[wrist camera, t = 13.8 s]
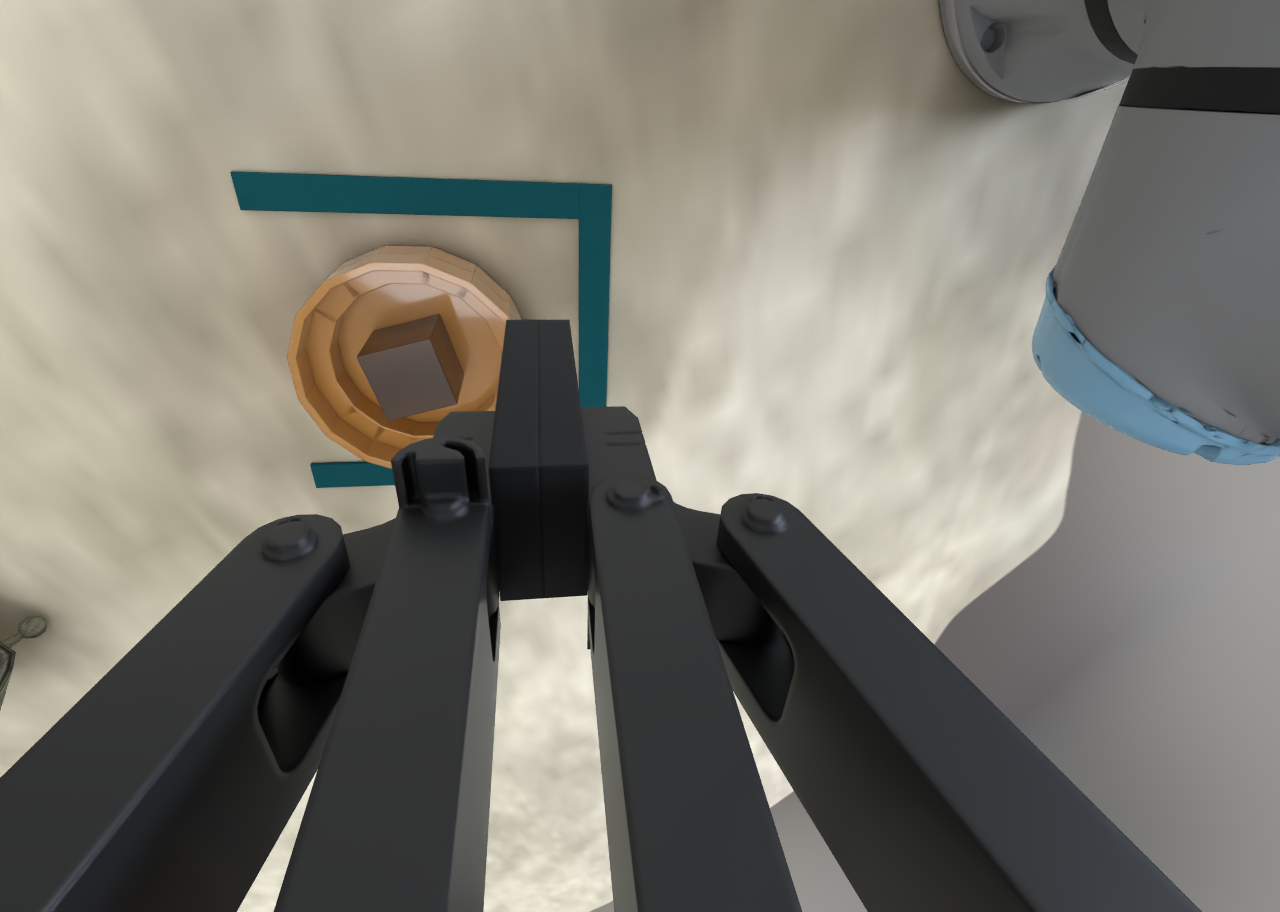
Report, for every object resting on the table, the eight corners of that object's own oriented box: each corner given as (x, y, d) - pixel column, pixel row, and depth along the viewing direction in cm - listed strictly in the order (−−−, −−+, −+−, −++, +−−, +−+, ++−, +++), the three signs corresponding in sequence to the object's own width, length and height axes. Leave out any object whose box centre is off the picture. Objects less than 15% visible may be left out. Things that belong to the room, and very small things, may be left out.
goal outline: (232, 171, 35) (230, 172, 34) (611, 184, 38) (611, 185, 37) (317, 485, 46) (316, 487, 46) (604, 475, 49) (604, 477, 49)
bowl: (288, 241, 37) (260, 260, 33) (525, 246, 39) (524, 264, 35) (336, 441, 44) (318, 476, 40) (533, 436, 46) (533, 469, 42)
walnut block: (372, 330, 40) (355, 357, 36) (440, 313, 40) (430, 338, 36) (401, 390, 42) (388, 422, 38) (464, 374, 42) (457, 404, 38)
